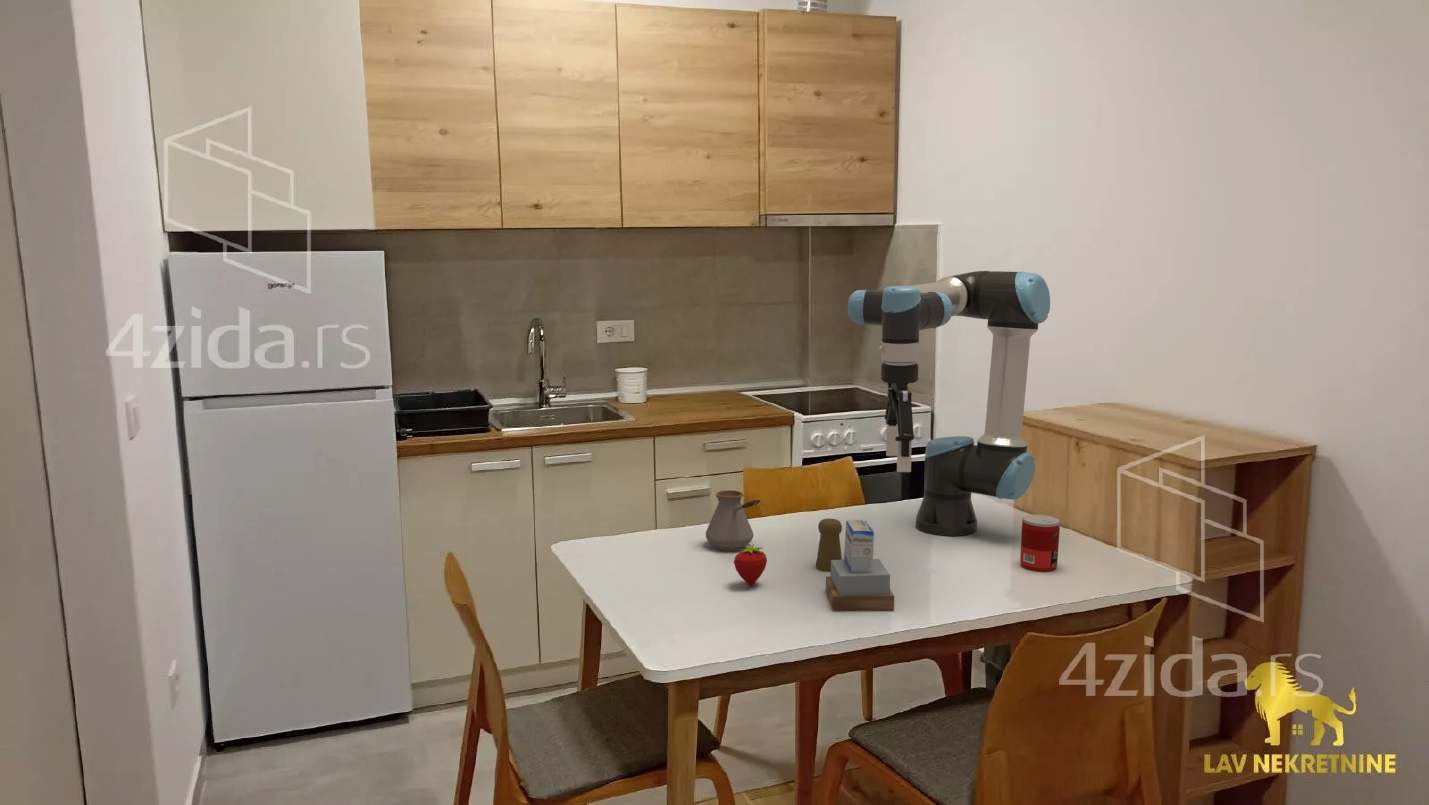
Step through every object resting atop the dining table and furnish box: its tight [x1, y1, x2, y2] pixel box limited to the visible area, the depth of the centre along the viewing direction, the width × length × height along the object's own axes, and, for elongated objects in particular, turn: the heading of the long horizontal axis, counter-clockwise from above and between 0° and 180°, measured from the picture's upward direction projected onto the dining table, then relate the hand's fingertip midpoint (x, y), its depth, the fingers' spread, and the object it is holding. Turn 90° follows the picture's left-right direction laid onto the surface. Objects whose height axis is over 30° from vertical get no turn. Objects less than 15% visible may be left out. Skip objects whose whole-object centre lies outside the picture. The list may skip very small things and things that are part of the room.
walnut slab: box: [825, 575, 895, 612], centre depth 207 cm, size 12×12×4 cm
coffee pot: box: [705, 490, 765, 552], centre depth 237 cm, size 21×12×15 cm, turn 25°
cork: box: [815, 518, 843, 573], centre depth 227 cm, size 6×6×11 cm
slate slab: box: [830, 558, 891, 596], centre depth 206 cm, size 10×10×4 cm
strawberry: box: [733, 540, 768, 587], centre depth 215 cm, size 6×8×10 cm
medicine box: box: [843, 519, 875, 572], centre depth 206 cm, size 8×4×9 cm, turn 3°
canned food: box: [1019, 514, 1061, 573], centre depth 228 cm, size 8×8×11 cm
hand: (898, 463), depth 212 cm, fingers open, 13 cm apart
